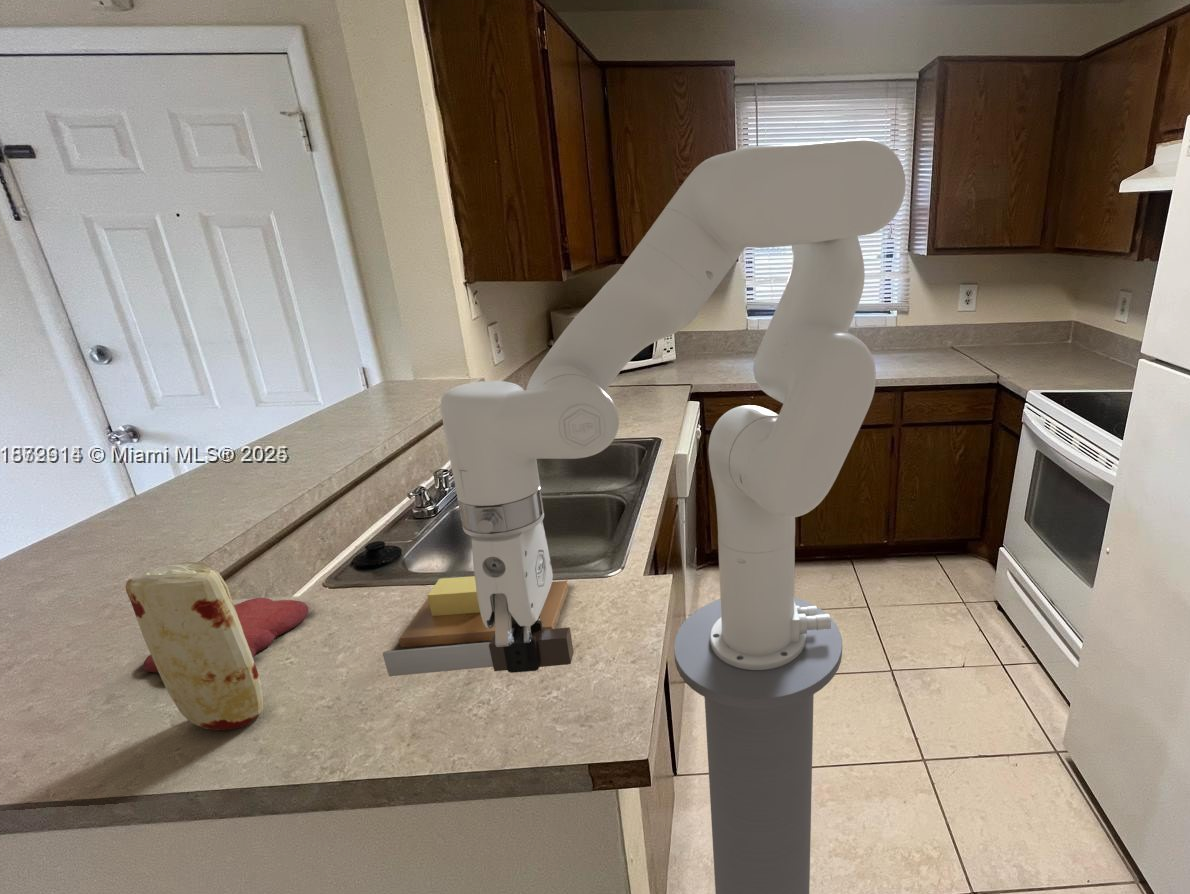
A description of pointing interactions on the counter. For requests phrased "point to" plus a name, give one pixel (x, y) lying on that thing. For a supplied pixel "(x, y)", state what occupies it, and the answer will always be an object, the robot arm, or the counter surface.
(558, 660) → the knife
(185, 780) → the counter surface
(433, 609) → the butter
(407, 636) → the cutting board
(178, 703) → the food model
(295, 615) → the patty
